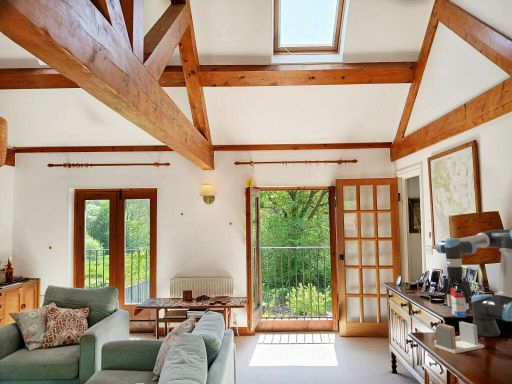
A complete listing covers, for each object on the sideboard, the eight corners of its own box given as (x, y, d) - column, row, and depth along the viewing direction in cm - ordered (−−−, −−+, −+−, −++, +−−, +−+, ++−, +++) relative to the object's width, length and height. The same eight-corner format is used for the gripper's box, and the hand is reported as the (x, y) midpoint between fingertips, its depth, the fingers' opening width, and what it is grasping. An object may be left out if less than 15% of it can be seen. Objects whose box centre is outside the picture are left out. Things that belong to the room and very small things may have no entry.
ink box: (466, 317, 198) (464, 289, 199) (457, 317, 199) (454, 289, 200) (460, 313, 206) (458, 286, 208) (451, 313, 207) (449, 287, 209)
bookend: (463, 339, 210) (462, 321, 211) (478, 343, 202) (476, 325, 203) (460, 340, 209) (458, 322, 211) (474, 344, 201) (473, 325, 202)
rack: (463, 341, 213) (461, 318, 214) (484, 347, 201) (481, 323, 202) (434, 346, 205) (432, 323, 206) (454, 353, 193) (452, 328, 194)
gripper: (433, 265, 214) (436, 305, 212) (467, 268, 194) (472, 312, 191) (442, 264, 217) (446, 303, 215) (477, 267, 197) (481, 310, 194)
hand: (458, 307), depth 203 cm, fingers closed on ink box, 9 cm apart
